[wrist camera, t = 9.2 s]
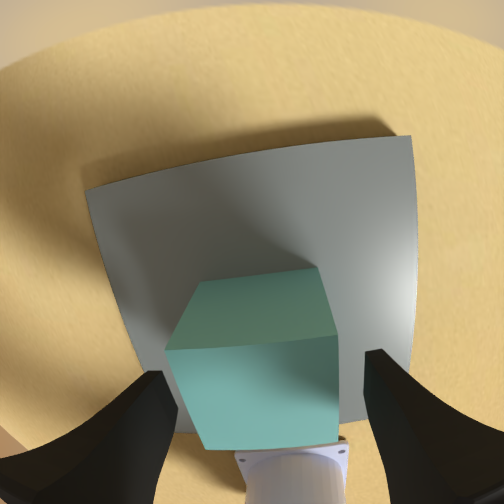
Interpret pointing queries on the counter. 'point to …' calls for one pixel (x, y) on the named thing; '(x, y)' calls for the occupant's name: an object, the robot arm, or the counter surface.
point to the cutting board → (270, 244)
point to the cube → (259, 362)
